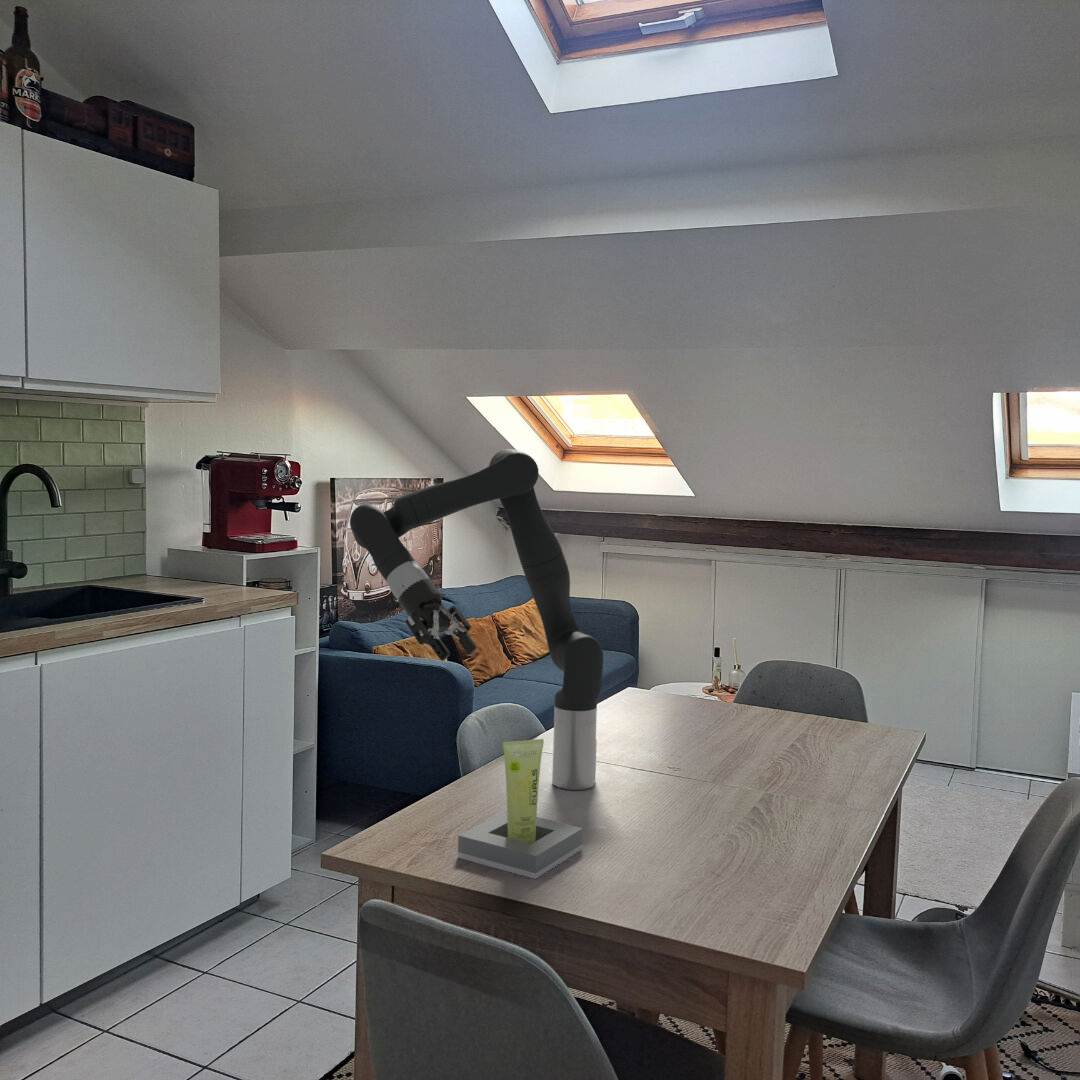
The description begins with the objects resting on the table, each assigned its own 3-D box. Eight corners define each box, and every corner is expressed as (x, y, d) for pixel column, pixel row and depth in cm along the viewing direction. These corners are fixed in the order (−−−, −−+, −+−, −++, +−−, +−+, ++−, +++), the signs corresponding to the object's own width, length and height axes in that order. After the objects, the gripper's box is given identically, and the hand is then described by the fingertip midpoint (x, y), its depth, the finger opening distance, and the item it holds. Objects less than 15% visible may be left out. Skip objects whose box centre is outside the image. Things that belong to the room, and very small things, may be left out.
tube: (524, 856, 174) (527, 745, 173) (499, 849, 177) (502, 741, 175) (540, 846, 179) (543, 738, 178) (516, 840, 182) (519, 734, 180)
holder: (508, 830, 189) (508, 810, 189) (582, 849, 181) (582, 828, 180) (457, 857, 175) (458, 835, 175) (535, 879, 167) (536, 855, 167)
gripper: (401, 580, 188) (449, 647, 183) (446, 574, 200) (493, 637, 195) (379, 605, 191) (425, 672, 186) (425, 598, 203) (470, 661, 198)
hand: (460, 654), depth 191 cm, fingers open, 8 cm apart
